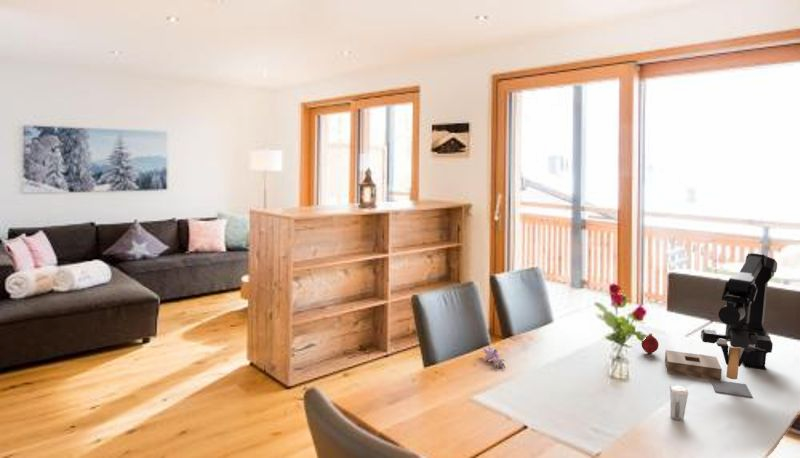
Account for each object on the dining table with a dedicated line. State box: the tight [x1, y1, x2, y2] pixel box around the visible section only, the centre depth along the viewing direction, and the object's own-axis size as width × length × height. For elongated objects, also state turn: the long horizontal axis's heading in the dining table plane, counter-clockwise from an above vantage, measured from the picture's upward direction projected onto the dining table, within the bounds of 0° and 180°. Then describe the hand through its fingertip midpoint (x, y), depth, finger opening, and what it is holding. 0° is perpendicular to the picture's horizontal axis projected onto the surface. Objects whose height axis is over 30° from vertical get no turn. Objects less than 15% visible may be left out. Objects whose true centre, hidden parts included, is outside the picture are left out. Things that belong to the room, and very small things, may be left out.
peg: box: [725, 345, 740, 380], centre depth 170 cm, size 3×3×10 cm
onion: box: [640, 332, 660, 355], centre depth 200 cm, size 6×6×8 cm
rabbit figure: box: [483, 346, 506, 371], centre depth 191 cm, size 6×6×15 cm
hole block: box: [664, 349, 723, 381], centre depth 186 cm, size 16×12×4 cm
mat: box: [710, 379, 753, 399], centre depth 171 cm, size 10×10×1 cm
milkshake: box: [668, 384, 689, 421], centre depth 151 cm, size 4×5×10 cm
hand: (732, 365), depth 170 cm, fingers closed on peg, 3 cm apart
